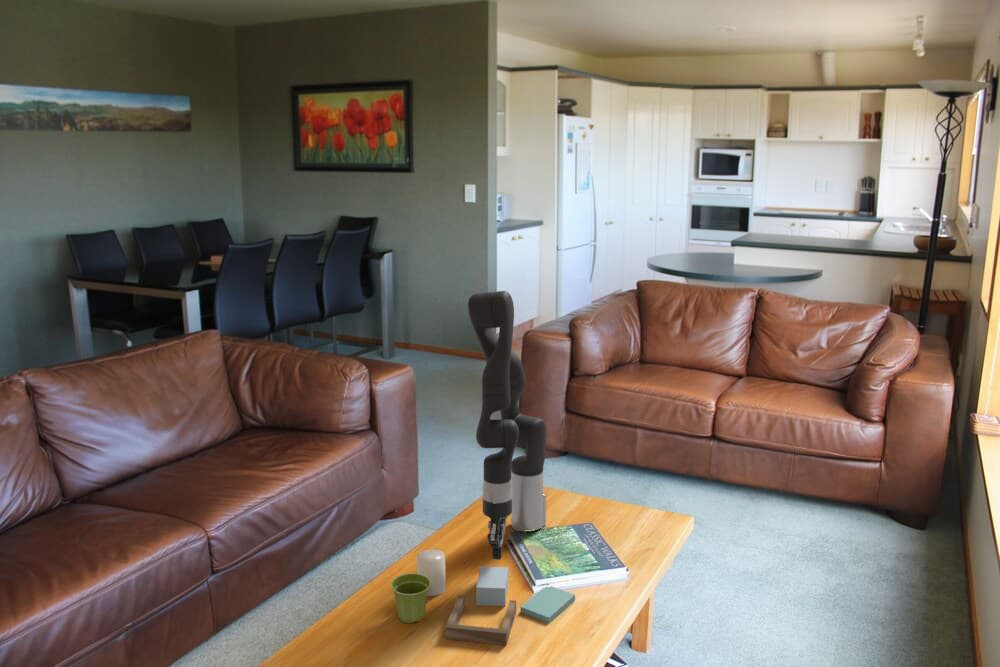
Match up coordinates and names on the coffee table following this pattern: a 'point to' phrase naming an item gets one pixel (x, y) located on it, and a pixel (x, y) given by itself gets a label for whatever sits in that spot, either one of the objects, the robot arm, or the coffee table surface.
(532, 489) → the robot arm
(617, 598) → the coffee table surface
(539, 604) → the green flat block
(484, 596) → the carton
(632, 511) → the coffee table surface
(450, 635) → the display bay
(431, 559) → the white capsule shape
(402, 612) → the plant pot
